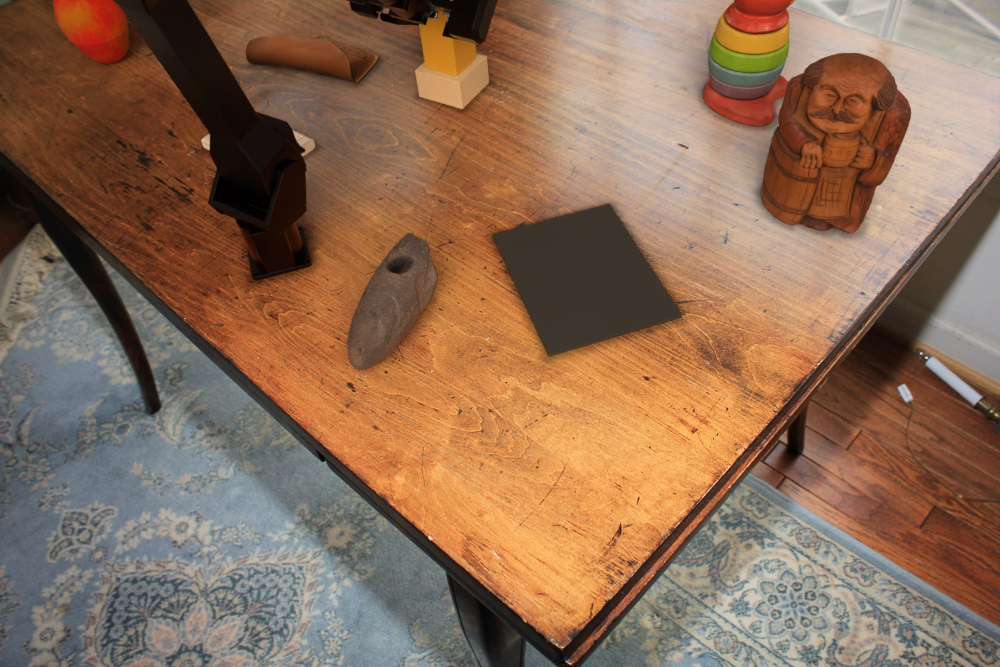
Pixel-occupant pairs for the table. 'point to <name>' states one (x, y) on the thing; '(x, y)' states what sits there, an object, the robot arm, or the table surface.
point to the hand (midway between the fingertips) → (452, 25)
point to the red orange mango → (94, 28)
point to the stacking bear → (748, 60)
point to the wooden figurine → (834, 142)
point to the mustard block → (444, 48)
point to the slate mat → (583, 279)
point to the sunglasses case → (312, 55)
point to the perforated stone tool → (391, 302)
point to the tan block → (453, 83)
